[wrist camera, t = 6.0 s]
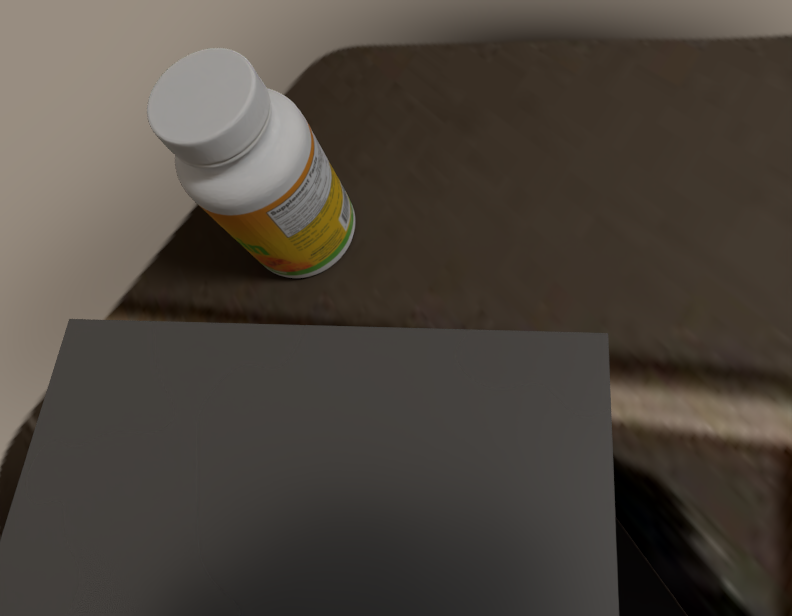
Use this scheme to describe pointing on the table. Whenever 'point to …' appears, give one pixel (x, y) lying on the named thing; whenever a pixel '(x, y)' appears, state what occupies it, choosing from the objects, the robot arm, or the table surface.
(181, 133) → the supplement bottle
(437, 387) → the steel square block
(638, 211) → the table surface
